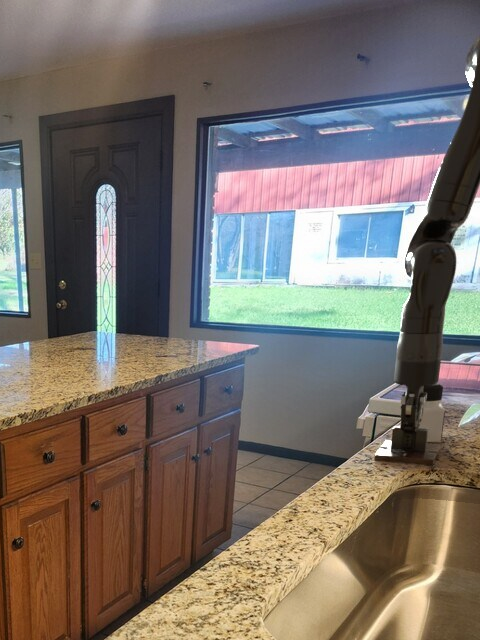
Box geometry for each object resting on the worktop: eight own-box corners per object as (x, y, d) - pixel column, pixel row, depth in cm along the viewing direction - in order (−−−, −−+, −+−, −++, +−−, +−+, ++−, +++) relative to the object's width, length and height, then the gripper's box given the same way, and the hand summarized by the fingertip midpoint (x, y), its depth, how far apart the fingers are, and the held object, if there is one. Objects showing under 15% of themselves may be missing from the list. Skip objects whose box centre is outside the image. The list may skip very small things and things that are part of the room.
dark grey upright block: (426, 449, 130) (428, 427, 128) (424, 451, 128) (427, 429, 127) (392, 446, 133) (394, 425, 131) (390, 448, 131) (392, 427, 130)
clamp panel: (439, 459, 134) (441, 443, 133) (432, 475, 124) (434, 459, 123) (383, 454, 139) (385, 439, 138) (372, 470, 129) (374, 453, 128)
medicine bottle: (441, 442, 145) (448, 386, 141) (404, 441, 147) (410, 386, 143) (437, 435, 151) (444, 380, 147) (402, 434, 153) (408, 380, 149)
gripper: (436, 363, 117) (425, 460, 123) (445, 352, 128) (434, 442, 134) (390, 362, 121) (380, 456, 127) (401, 352, 132) (393, 439, 138)
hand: (408, 449), depth 131 cm, fingers closed on dark grey upright block, 2 cm apart
